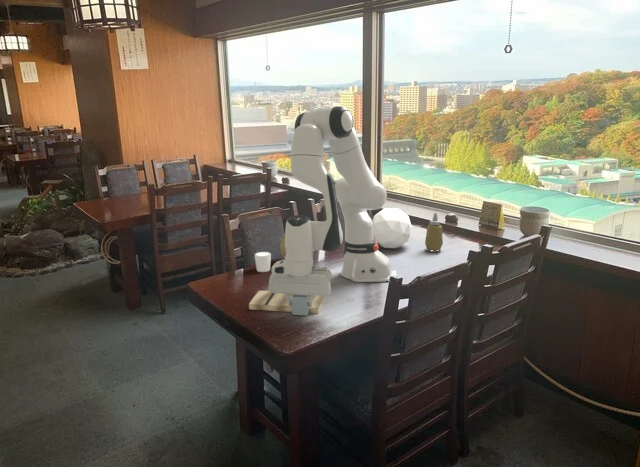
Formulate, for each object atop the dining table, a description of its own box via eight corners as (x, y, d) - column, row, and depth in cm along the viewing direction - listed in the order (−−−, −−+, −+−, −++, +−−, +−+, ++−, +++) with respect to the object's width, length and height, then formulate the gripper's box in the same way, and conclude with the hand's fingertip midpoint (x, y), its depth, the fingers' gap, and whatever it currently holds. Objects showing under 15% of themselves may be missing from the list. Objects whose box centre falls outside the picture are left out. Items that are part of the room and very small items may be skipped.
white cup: (268, 273, 198) (268, 257, 196) (253, 272, 200) (252, 256, 198) (273, 267, 205) (273, 251, 203) (258, 266, 206) (257, 251, 204)
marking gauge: (314, 299, 171) (314, 282, 169) (307, 315, 158) (306, 297, 156) (300, 298, 172) (300, 281, 170) (292, 314, 159) (291, 296, 157)
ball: (384, 257, 238) (384, 220, 245) (420, 250, 225) (419, 211, 232) (361, 246, 224) (362, 207, 232) (398, 237, 212) (398, 196, 219)
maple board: (323, 299, 172) (323, 293, 171) (318, 313, 160) (318, 307, 160) (259, 295, 176) (258, 290, 175) (249, 309, 164) (248, 303, 164)
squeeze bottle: (444, 249, 226) (447, 212, 221) (438, 254, 219) (441, 215, 215) (428, 247, 230) (430, 210, 225) (422, 251, 224) (423, 213, 219)
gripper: (332, 264, 157) (332, 303, 160) (271, 261, 160) (273, 300, 164) (329, 271, 151) (330, 311, 154) (266, 268, 154) (268, 308, 158)
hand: (300, 305), depth 159 cm, fingers closed on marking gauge, 5 cm apart
